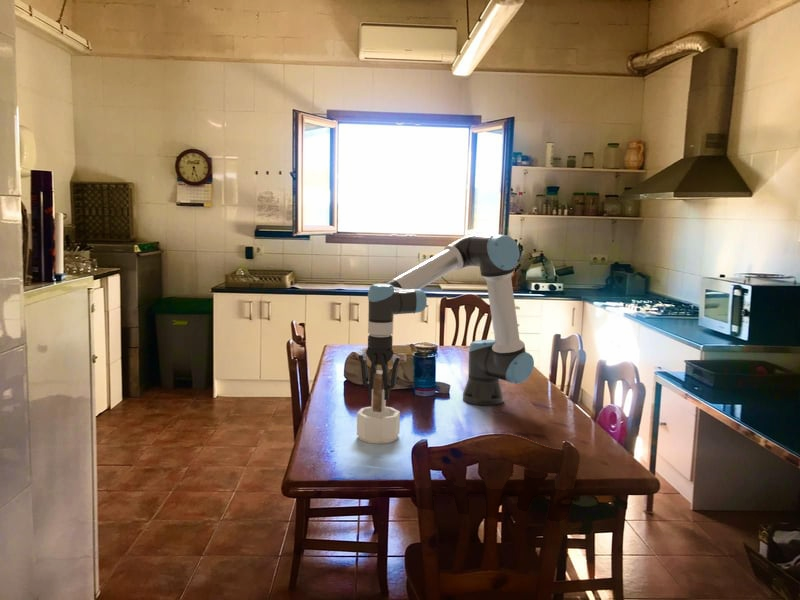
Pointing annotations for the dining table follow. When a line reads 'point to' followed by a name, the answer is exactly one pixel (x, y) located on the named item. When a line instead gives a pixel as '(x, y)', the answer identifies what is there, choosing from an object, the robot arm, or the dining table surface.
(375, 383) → the brown rectangular block
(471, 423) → the dining table surface
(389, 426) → the white short hollow cylinder
